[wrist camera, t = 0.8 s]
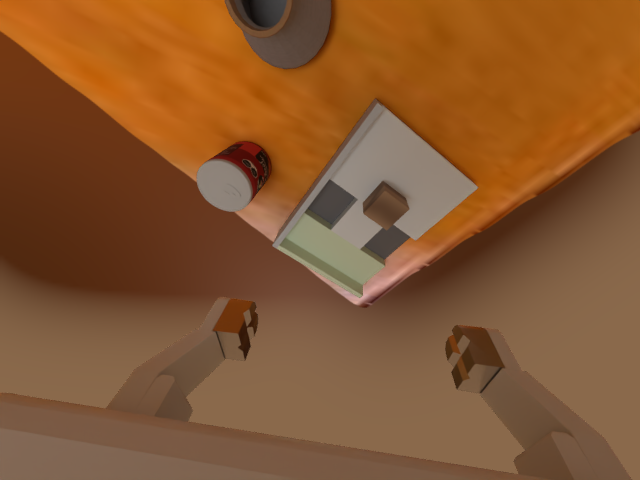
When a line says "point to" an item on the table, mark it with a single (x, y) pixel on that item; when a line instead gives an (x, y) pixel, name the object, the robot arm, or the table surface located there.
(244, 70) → the table surface
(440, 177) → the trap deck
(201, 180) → the canned food
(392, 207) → the walnut block
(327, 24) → the coffee pot
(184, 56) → the table surface
